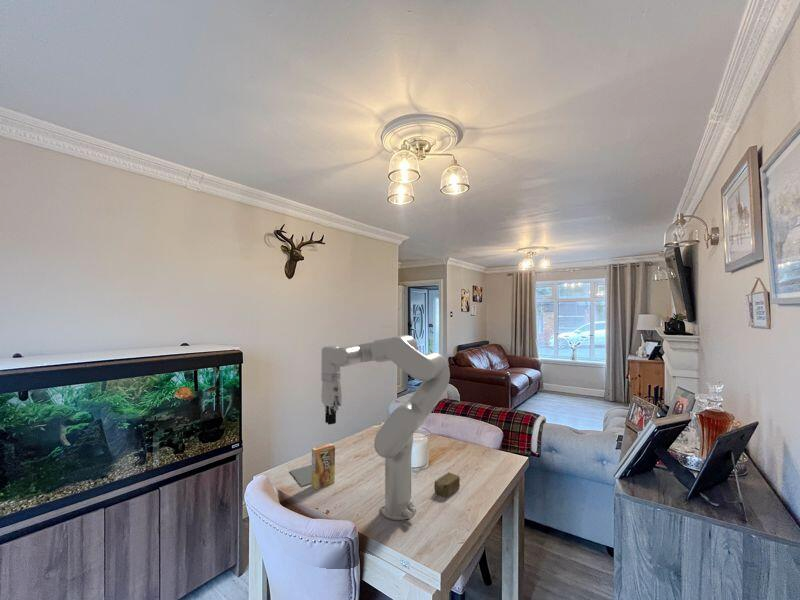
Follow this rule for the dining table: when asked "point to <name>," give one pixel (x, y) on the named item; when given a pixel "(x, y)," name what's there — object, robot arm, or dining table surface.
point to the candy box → (323, 465)
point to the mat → (303, 475)
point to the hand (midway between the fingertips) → (330, 422)
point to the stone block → (447, 484)
